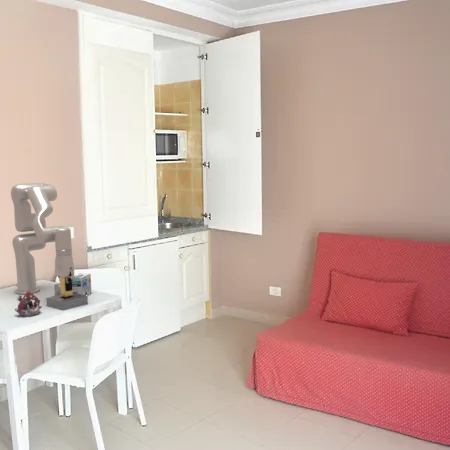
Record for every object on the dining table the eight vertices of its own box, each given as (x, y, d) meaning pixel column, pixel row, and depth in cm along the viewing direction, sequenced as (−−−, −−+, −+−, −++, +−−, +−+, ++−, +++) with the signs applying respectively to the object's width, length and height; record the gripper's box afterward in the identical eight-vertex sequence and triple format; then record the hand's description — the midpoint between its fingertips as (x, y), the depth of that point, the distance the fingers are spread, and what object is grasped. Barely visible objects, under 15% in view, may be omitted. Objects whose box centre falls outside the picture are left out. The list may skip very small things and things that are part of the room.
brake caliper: (27, 314, 247) (16, 291, 250) (16, 325, 253) (6, 303, 256) (48, 308, 256) (37, 286, 259) (38, 319, 262) (27, 298, 265)
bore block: (46, 305, 270) (46, 297, 270) (71, 299, 281) (70, 292, 280) (63, 310, 261) (62, 301, 261) (87, 303, 272) (87, 295, 271)
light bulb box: (83, 298, 284) (81, 277, 283) (71, 297, 286) (69, 277, 285) (92, 293, 295) (91, 273, 294) (80, 292, 296) (79, 273, 295)
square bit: (60, 295, 270) (59, 273, 269) (68, 294, 273) (66, 272, 272) (65, 296, 268) (64, 274, 266) (72, 295, 271) (71, 272, 269)
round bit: (52, 296, 291) (52, 284, 290) (64, 294, 295) (64, 282, 294) (57, 297, 286) (57, 286, 285) (69, 295, 290) (69, 284, 289)
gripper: (47, 252, 271) (50, 289, 273) (67, 255, 260) (69, 293, 262) (61, 250, 276) (63, 286, 278) (80, 253, 266) (83, 290, 268)
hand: (66, 289), depth 270 cm, fingers closed on square bit, 4 cm apart
